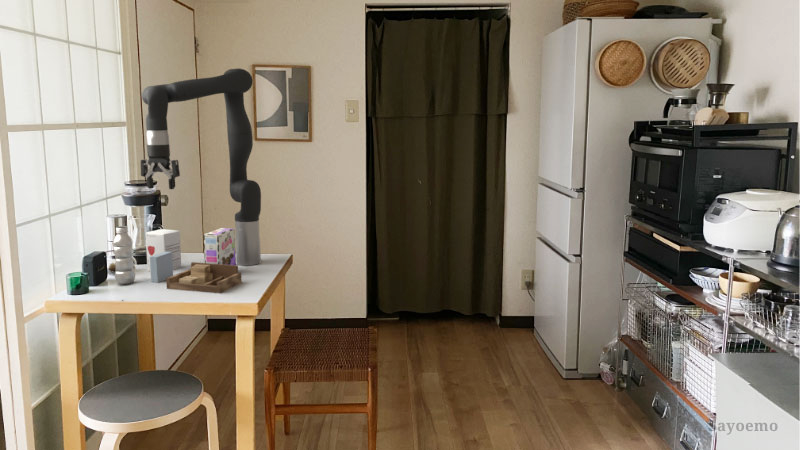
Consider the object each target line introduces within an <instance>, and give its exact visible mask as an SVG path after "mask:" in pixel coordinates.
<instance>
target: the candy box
mask: <svg viewBox="0 0 800 450" xmlns="http://www.w3.org/2000/svg"><path fill="white" fill-rule="evenodd" d="M203 250H204V251H203V253H204V256H203V257H204V263H211V264H225V265H237V261H236V234H235V228H233V227H231V228H230V227H229V228H228V227H220V228H217V229H216V230H215V229H214V230H212V231H210V232H207V233H203Z"/></svg>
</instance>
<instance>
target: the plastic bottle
mask: <svg viewBox="0 0 800 450" xmlns="http://www.w3.org/2000/svg"><path fill="white" fill-rule="evenodd" d="M128 232H129V231H128V226H126V225H123V226H121V225H120V226H116V227H115V236H114V238H113V239H112V248H113V252H114V258H115V259H114V260H115V271H114V279H115V282H116V283H117V284H118V285H127V284H128V285H129V284H131V283H133V282H135V279H136V272H135V268H134V263H133V262H134V261H133V242H134V241H133V239H132V237H131V236H130V235H129V233H128Z"/></svg>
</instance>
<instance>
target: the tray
mask: <svg viewBox="0 0 800 450" xmlns="http://www.w3.org/2000/svg"><path fill="white" fill-rule="evenodd" d="M196 264H199V265H210V273H212V276H213V280H212V281H210V282H208V283H205V284H203V285H200V284H188V283H179V279H180V278H183V277H186V276H190V275H191V268H188V269H186V270H184V271H181V272H179V273H176V274H173V276H171V277H169V278H166V281H165V282H166V290H178V291H187V292H189V291H190V292H200V293H210V294H211V293H213V294H223V292H226V291H228V290H230V289H232V288H234V287H236V286H238V285H240V284H241V283H242V272H239V265H238V264H236V265H225V264H211V263H205V262H196V261H195V262H193V261H192V262H191V263H190V267H192V266H194V265H196Z"/></svg>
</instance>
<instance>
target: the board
mask: <svg viewBox="0 0 800 450" xmlns="http://www.w3.org/2000/svg"><path fill="white" fill-rule="evenodd" d="M150 267H151V271H150V279H151V283H157V284H158V283H161V282H163V281H165V280H166V278H169V277H171V276H174V270H173V264H172V252H163V253H160V254H157V255H154V256H151V257H150Z"/></svg>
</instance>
